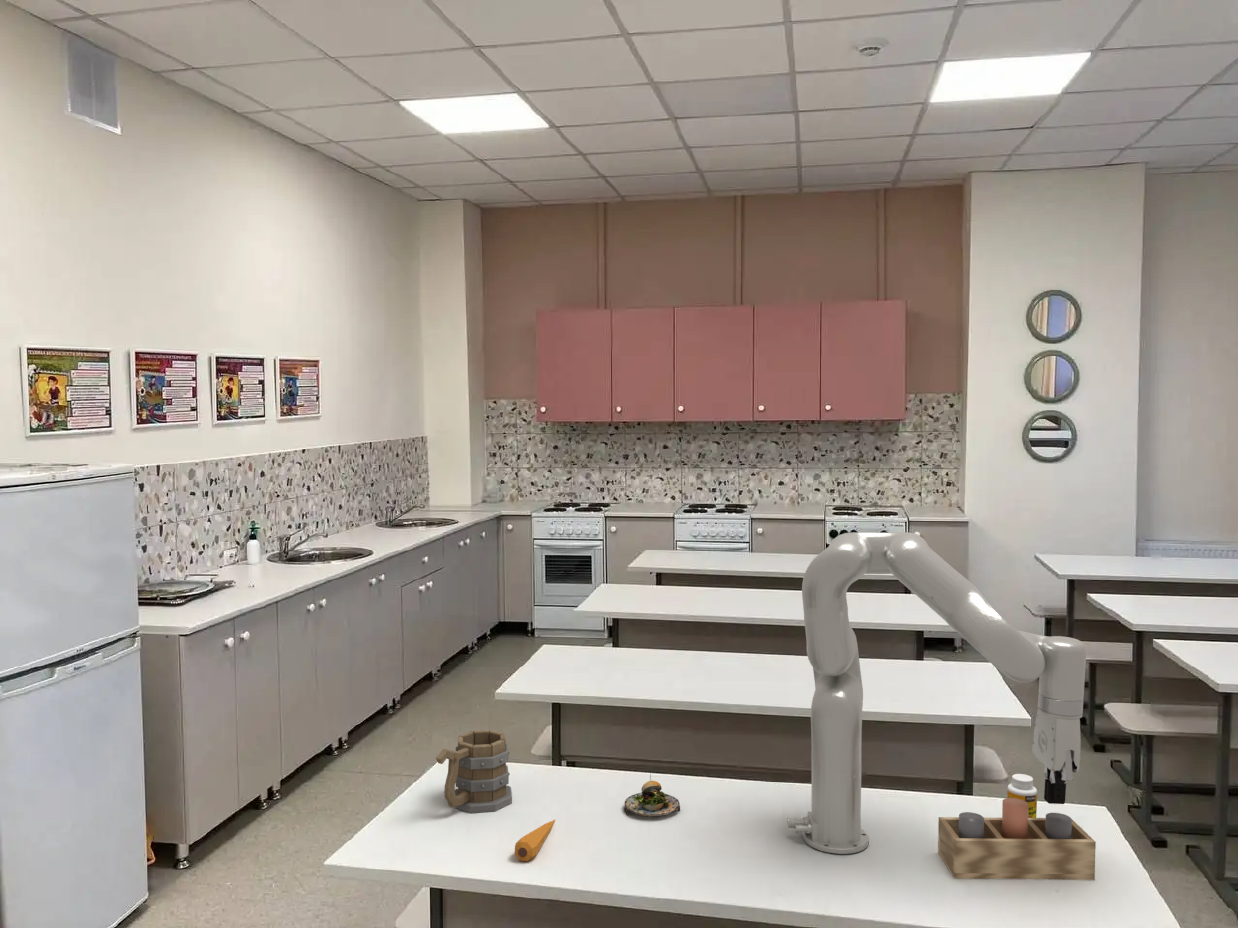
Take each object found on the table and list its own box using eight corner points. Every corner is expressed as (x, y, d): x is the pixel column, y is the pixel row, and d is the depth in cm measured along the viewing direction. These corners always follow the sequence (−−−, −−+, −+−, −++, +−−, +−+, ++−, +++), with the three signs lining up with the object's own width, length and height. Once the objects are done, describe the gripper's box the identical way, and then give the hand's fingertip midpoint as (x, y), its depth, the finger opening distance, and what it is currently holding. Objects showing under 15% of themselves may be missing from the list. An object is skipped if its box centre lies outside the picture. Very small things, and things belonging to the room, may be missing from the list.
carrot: (528, 869, 180) (537, 847, 179) (507, 857, 181) (516, 835, 180) (560, 834, 199) (569, 814, 199) (542, 823, 200) (550, 804, 200)
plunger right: (1050, 859, 176) (1051, 822, 175) (1040, 848, 180) (1041, 812, 180) (1075, 859, 176) (1076, 822, 175) (1064, 848, 180) (1065, 812, 180)
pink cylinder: (1007, 844, 176) (1007, 807, 175) (998, 834, 180) (998, 797, 180) (1031, 844, 176) (1032, 807, 175) (1021, 834, 180) (1022, 797, 180)
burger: (618, 819, 199) (618, 784, 199) (630, 797, 211) (630, 763, 210) (675, 825, 197) (675, 789, 196) (684, 801, 208) (684, 768, 208)
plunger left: (962, 859, 176) (963, 822, 176) (955, 848, 181) (955, 811, 180) (987, 859, 176) (987, 822, 176) (978, 848, 180) (979, 812, 180)
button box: (955, 878, 174) (955, 840, 173) (937, 852, 183) (938, 816, 183) (1094, 879, 173) (1095, 841, 172) (1070, 853, 183) (1070, 817, 182)
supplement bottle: (1025, 834, 191) (1026, 784, 190) (1000, 824, 196) (1001, 775, 195) (1042, 827, 194) (1043, 778, 194) (1017, 818, 199) (1018, 769, 198)
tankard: (481, 784, 218) (480, 719, 217) (523, 797, 210) (522, 730, 209) (415, 815, 201) (413, 745, 201) (457, 830, 194) (456, 757, 193)
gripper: (1023, 691, 184) (1018, 785, 185) (1057, 717, 169) (1051, 818, 170) (1063, 693, 184) (1057, 786, 185) (1100, 719, 169) (1093, 820, 170)
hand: (1054, 801), depth 177 cm, fingers closed
